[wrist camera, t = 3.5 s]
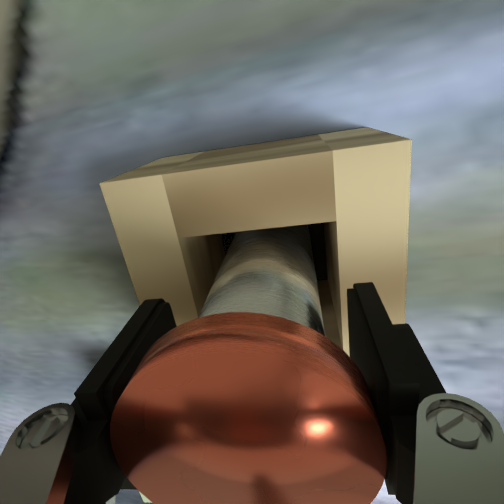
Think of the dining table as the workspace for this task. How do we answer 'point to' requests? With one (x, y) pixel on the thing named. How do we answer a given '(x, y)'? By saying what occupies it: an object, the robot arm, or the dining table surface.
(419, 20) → the dining table surface
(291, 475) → the pin
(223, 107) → the dining table surface
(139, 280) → the socket block
